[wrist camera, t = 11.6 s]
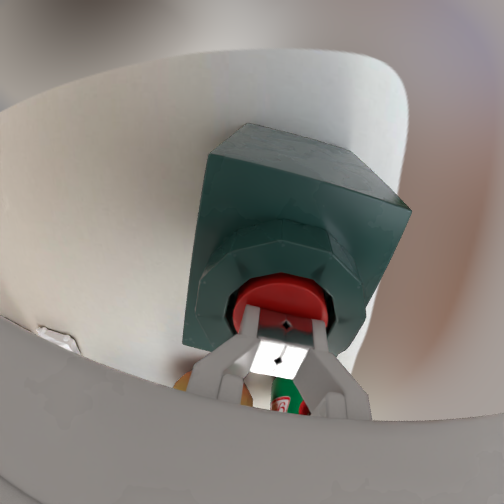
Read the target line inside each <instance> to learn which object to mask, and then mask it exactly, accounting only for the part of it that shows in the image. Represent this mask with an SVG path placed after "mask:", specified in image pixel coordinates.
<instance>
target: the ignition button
mask: <svg viewBox="0 0 504 504" xmlns="http://www.w3.org/2000/svg"><path fill="white" fill-rule="evenodd" d="M246 304H248V305H252V306H256V307H261V308H265V309H269V310H273V311H277V312H281V313H285V314H290V315H294V316H299V317H304V318H309V319H316V320H321V321H324V322H325V328H326V327H327V323H328V312H327V305H326V298H325V292H324V289H323V288H322V287H320V286H319V285H318V284H317V283H316V282H315V281H314V280H312V279H308V278H304V277H299V276H295V275H291V274H287V273H283V272H280V273H275V274H270V275H265V276H260V277H255V278H251V279H249V280H248V281H247V282H245V283H244V284H243V285H242V286H241V287H240V288H239V289H238V293H237V298H236V302H235V306H234V311H233V323H234V326H235V329H236V331H237V333H238V332H239V328H240V324H241V321H242V317H243V314H244V310H245V307H246Z"/></svg>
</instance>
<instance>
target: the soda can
mask: <svg viewBox="0 0 504 504" xmlns="http://www.w3.org/2000/svg"><path fill="white" fill-rule="evenodd" d="M270 410H272V411H278V412H285V413H292V414H299V415H307V416H310V415H311V412H310V410H309V408H308V407H307V405H306V403H305V401H304V400H303V398H302V396H301V394H300V393H299V391H298V389H297V387H296V386H295V384H294V382H293V380H290V379H285V378H281V377H277V378H275V379H274V381H273V382H272V389H271V402H270Z"/></svg>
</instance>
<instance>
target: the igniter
mask: <svg viewBox="0 0 504 504" xmlns="http://www.w3.org/2000/svg"><path fill="white" fill-rule="evenodd" d="M411 213H412V210H411V209H410V208H409V207H408V206H407V205H406V204H405V203H404V202H403V201H402V200H401V199H400V198H399V197H398V196H397V195H396V194H395V193H394V192H393V191H392V190H391V189H390V188H389V187H388V186H387V185H386V184H385V183H384V182H383V181H382V180H381V179H380V178H379V177H378V176H377V175H376V174H375V173H374V172H373V171H372V170H371V169H370V168H369V167H368V166H367V165H366V164H364V163H363V162H362V161H361V160H360V159H359V158H358V157H357V156H356V155H355V154H353V153H352V152H351V151H349V150H346V149H343V148H340V147H337V146H334V145H330V144H327V143H324V142H321V141H317V140H314V139H310V138H307V137H303V136H299V135H296V134H292V133H288V132H284V131H280V130H276V129H272V128H268V127H264V126H260V125H255V124H251V123H247V124H246V125H245V126H243V127H242V128H241V129H239V130H238V131H237V132H235V133H234V134H233V135H232V136H230V137H229V138H228V139H227V140H225V141H224V142H223V143H222V144H220V145H219V146H218V147H217V148H215V149H214V150H213V151H212V152H210V153H209V155H208V159H207V164H206V170H205V176H204V181H203V187H202V193H201V199H200V205H199V212H198V218H197V225H196V232H195V239H194V246H193V253H192V260H191V268H190V276H189V284H188V292H187V301H186V310H185V320H184V329H183V340H182V344H183V345H187V346H191V347H194V348H198V349H202V350H206V351H210V352H212V351H214V350H215V349H216V348H218V347H219V346H221V345H222V344H223V343H225V342H226V341H228V340H229V339H230V338H232V337H233V336H234V335H236V334H238V333H237V331H236V329H235V326H234V323H233V311H234V306H235V302H236V298H237V293H238V289H239V288H240V287H241V286H242V285H243V284H244V283H245V282H247V281H248V280H249V279H251V278H255V277H260V276H265V275H270V274H275V273H280V272H283V273H287V274H291V275H295V276H299V277H304V278H308V279H312V280H314V281H315V282H316V283H317V284H318V285H319V286H320V287H322V288H323V289H324V292H325V298H326V305H327V312H328V323H327V327H326V335H327V343H328V351H329V352H330V353H333V354H334V356H335V357H337V355H338V354H340V353H341V352H343V351H345V350H346V349H347V348H348V347H349V346H350V344H351V343H352V341H353V340H354V338H355V336H356V335H357V333H358V331H359V330H360V328H361V326H362V325H363V323H364V321H365V319H366V309H365V308H366V306H367V304H368V302H369V301H370V299H371V297H372V295H373V293H374V291H375V289H376V288H377V286H378V284H379V282H380V280H381V278H382V276H383V274H384V272H385V270H386V268H387V266H388V264H389V262H390V260H391V258H392V256H393V254H394V251H395V249H396V247H397V245H398V242H399V241H400V238H401V236H402V234H403V232H404V230H405V227H406V225H407V223H408V220H409V218H410V216H411Z"/></svg>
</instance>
